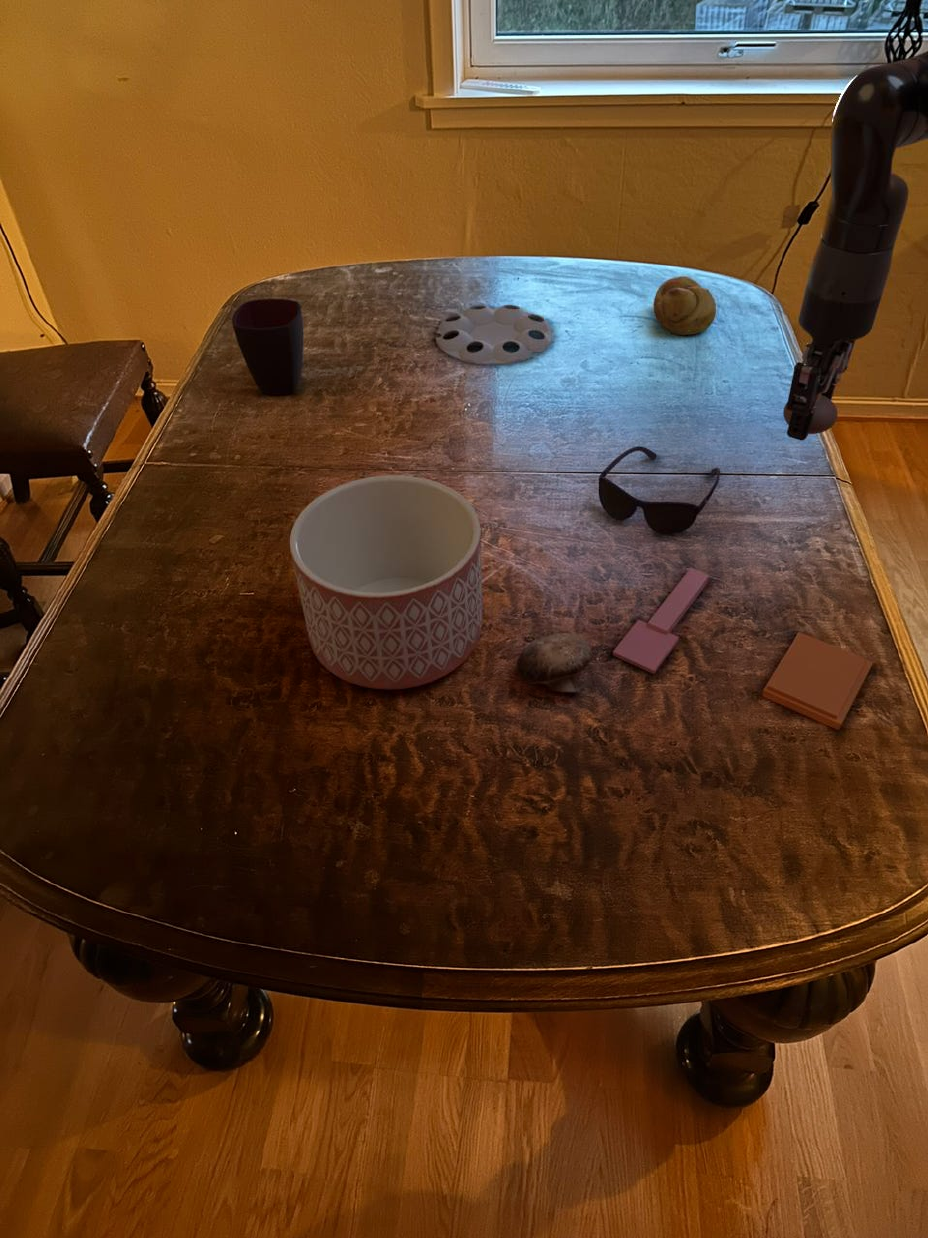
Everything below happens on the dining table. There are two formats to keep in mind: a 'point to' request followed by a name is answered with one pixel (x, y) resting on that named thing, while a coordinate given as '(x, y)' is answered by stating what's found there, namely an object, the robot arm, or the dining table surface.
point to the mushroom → (554, 661)
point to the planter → (390, 580)
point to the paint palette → (493, 334)
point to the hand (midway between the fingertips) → (807, 423)
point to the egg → (818, 415)
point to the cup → (271, 343)
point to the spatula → (660, 626)
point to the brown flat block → (817, 680)
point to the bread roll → (684, 306)
